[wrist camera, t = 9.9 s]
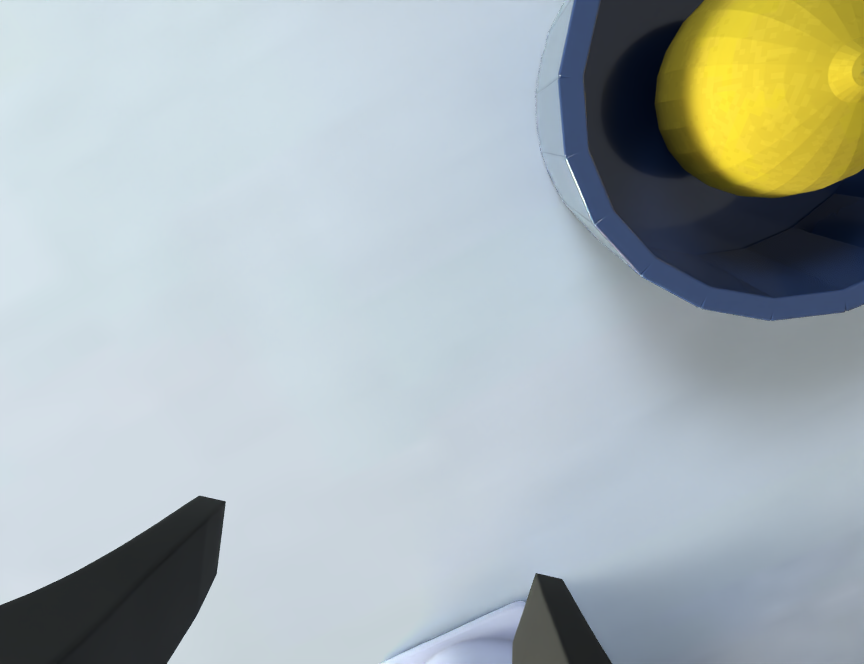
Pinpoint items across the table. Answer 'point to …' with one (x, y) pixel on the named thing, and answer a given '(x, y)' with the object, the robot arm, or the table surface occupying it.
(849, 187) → the blue mug
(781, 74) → the lemon
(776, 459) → the table surface
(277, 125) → the table surface
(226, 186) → the table surface
